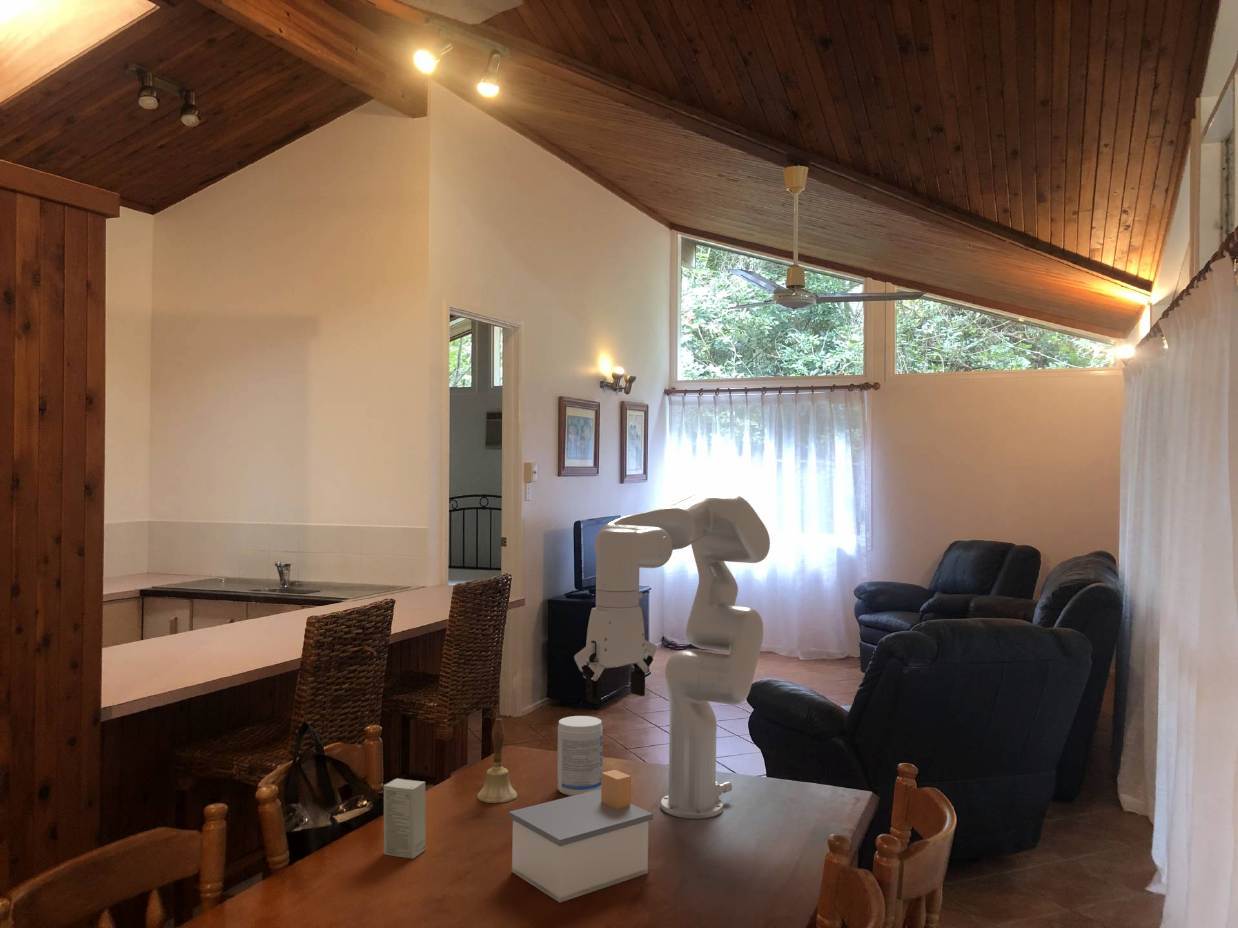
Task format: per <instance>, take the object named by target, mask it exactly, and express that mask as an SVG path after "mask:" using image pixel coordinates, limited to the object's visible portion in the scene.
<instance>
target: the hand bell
mask: <svg viewBox="0 0 1238 928" xmlns="http://www.w3.org/2000/svg"><path fill="white" fill-rule="evenodd" d="M491 739H492V745H493V763H492V764H493V765H492V767H490V768H489V769H487V770H486V776H485V781H484V783H483V784H484V785H483V787H482V788H481V790H480V791H479V792H478V794H477V795H476V798H477V799H478V800H479V801H480V802H484V803H490V804H501V803H502V804H503V803H508V802H511V801H514V800H515V799H516V798H518V793H517V791H516V790H515V789H514V788H513V786H512V784H511V781H510V777H509V770H508V769H507V768H505V767H504V766H503V764H502V757H503V756H502V754H503V753H502V750H503V745H504V742H505V727H504V724H503V719H502V718H495V719H494V724H493V727H492V731H491Z"/></svg>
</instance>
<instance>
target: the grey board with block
mask: <svg viewBox="0 0 1238 928" xmlns="http://www.w3.org/2000/svg"><path fill="white" fill-rule="evenodd" d="M631 782H632V776H631V775H629V774H627V773H624V772H621V771H619V770H617V769H613V770H608V771H602V784H601V790H599V789H598V790H594V791H590V792H586V793H582V794H578V795H574V796H567V797H566V796H565V797H563V798H559V799H555V800H551V801H546V802H542V803H539V804H535V805H530V806H526V807H523V808H518V809H514V810H510V811H508V818H509V819H511V820H512V821H513V820H514V821H516V822H517V823H519V824H521V825H523V826H524V827H526V828H528V829H530V830H532V831H533V832H535V833H537V834H539V835H540V836H542V837H544V838H546V839H548V840H549V841H551V842H553V843H555V844H556V845H558V846H563V845H567V844H570V843H574V842H577V841H581V840H584V839H588V838H591V837H595V836H598V835H601V834H605V833H608V832H612V831H615V830H619V829H622V828H626V827H629V826H633V825H636V824H640V823H643V822H646V821H648V822H650V821H653V818H654V816H653V815H654V814H653V813H652V812H650V811H648V810H646V809H644V808H641V807H638V806H637V805H634V804H633V803H632V802H631V800H632V797H631V796H632V793H631V791H632V789H631V788H632V783H631Z"/></svg>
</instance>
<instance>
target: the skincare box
mask: <svg viewBox="0 0 1238 928" xmlns="http://www.w3.org/2000/svg"><path fill="white" fill-rule="evenodd" d="M426 806H427V805H426V781H421V780H416V779H415V780H414V779H413V780H412V779H406V778H405V779H404V778H398V777H397V778H395V779H392V780H391V781H389V782H387V783H385V784H383V854H384V855H387V856H392V857H399V858H406V859H413V860H414V859H415V858H416V857H418V856H419V855H420V854H421V853H423V852H424V851H425V850H427V847H426V845H427V844H426V843H427V842H426V837H427V836H426V835H427V834H426V833H427V832H426V825H427V823H426V818H427V817H426V816H427V815H426V810H427V809H426Z"/></svg>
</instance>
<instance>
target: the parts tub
mask: <svg viewBox="0 0 1238 928" xmlns="http://www.w3.org/2000/svg"><path fill="white" fill-rule="evenodd" d="M511 847H512V853H511V854H512V855H511V859H512V860H511V872H512V873H513V874H515V876H516V875H517V876H518V877H519V878H520V879H522V880H524V881H525V882H527V883H528V884H530V885H531V886H533V887H534V888H536V889H537V890H539V891H541V892H543V893H544V894H546V895H547V896H548V897H550V898H552V899H553V900H555V901H557V902H558V903H559V904H560V903H564V902H566V901H569V900H571V899H572V900H573V899H574V898H578V897H580V896H583V895H587V894H591V893H593V892H596V891H599V890H602V889H604V888H607V887H611V886H614V885H617V884H620V883H623V882H626V881H628V880H632V879H635V878H638V877H641V876H643V875H647V874H648V873H649V871H648V870H649V868H648V866H649V821H646V822H643V823H640V824H636V825H633V826H629V827H626V828H622V829H619V830H615V831H612V832H608V833H605V834H601V835H598V836H595V837H591V838H588V839H584V840H581V841H577V842H574V843H570V844H567V845H563V846H558V845H556V844H555V843H553V842H551V841H549V840H548V839H546V838H544V837H542V836H540V835H539V834H537V833H535V832H533V831H532V830H530V829H528V828H526V827H524V826H523V825H521V824H519V823H517V822H516V821H514V820H512V846H511Z"/></svg>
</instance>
